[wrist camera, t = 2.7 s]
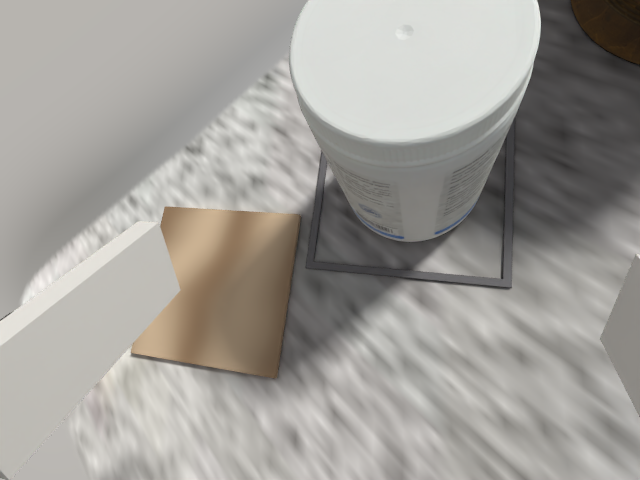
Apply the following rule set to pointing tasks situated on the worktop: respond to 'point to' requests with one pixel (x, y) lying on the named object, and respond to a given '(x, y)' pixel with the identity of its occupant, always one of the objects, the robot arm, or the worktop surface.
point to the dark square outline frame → (418, 274)
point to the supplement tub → (412, 101)
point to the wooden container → (612, 25)
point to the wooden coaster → (225, 289)
